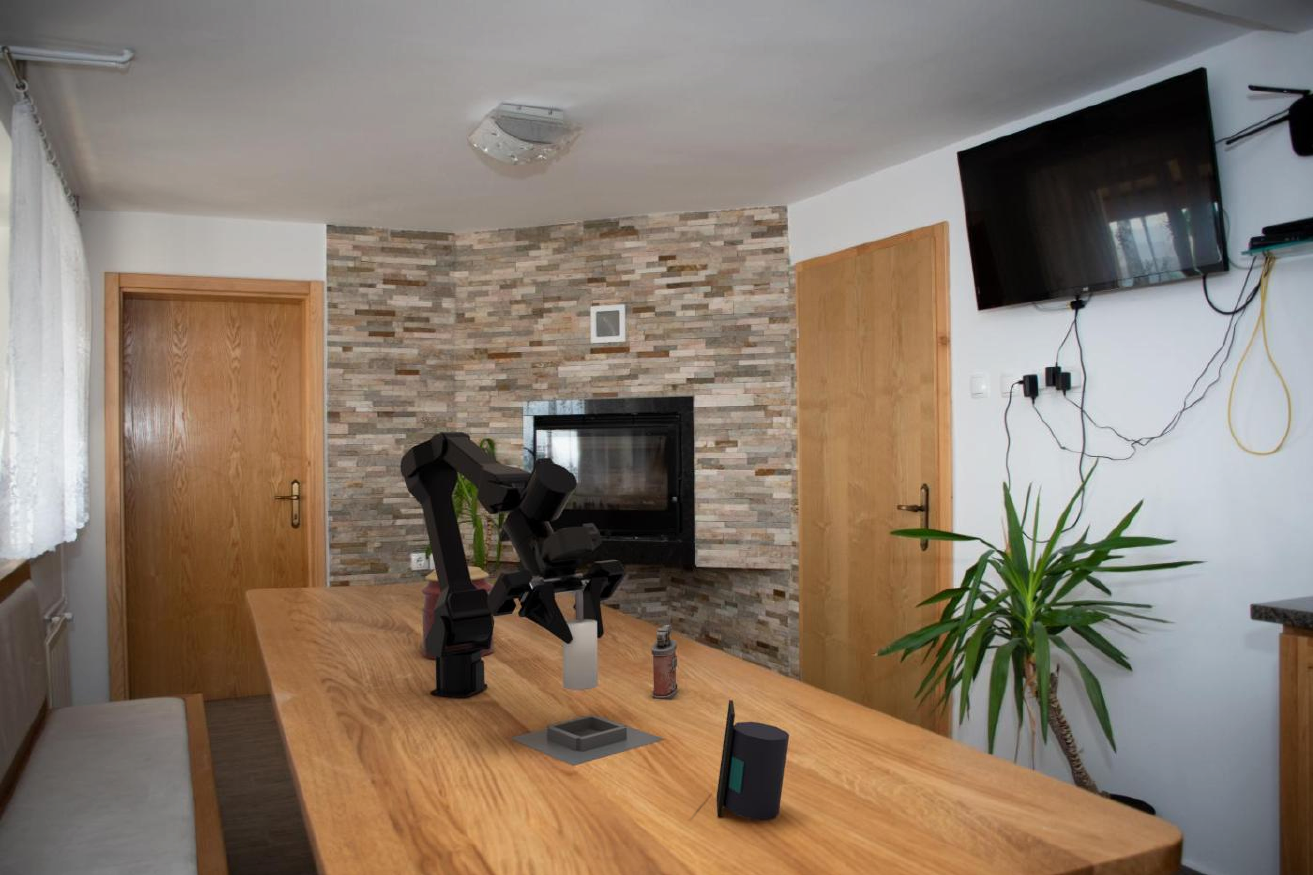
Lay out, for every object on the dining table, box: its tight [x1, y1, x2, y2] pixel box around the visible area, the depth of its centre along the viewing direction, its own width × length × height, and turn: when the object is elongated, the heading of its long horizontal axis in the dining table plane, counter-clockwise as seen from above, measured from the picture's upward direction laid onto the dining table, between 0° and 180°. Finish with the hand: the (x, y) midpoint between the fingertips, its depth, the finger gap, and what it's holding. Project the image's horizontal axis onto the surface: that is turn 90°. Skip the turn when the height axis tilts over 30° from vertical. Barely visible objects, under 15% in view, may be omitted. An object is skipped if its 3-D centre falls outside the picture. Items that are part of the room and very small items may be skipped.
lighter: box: [651, 624, 678, 701], centre depth 139 cm, size 8×3×10 cm, turn 168°
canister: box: [420, 565, 495, 660], centre depth 171 cm, size 13×13×18 cm
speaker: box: [716, 699, 790, 821], centre depth 94 cm, size 8×6×10 cm
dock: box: [509, 714, 666, 767], centre depth 117 cm, size 14×14×2 cm
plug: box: [561, 591, 599, 691], centre depth 118 cm, size 4×4×12 cm
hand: (586, 638), depth 117 cm, fingers closed on plug, 4 cm apart
